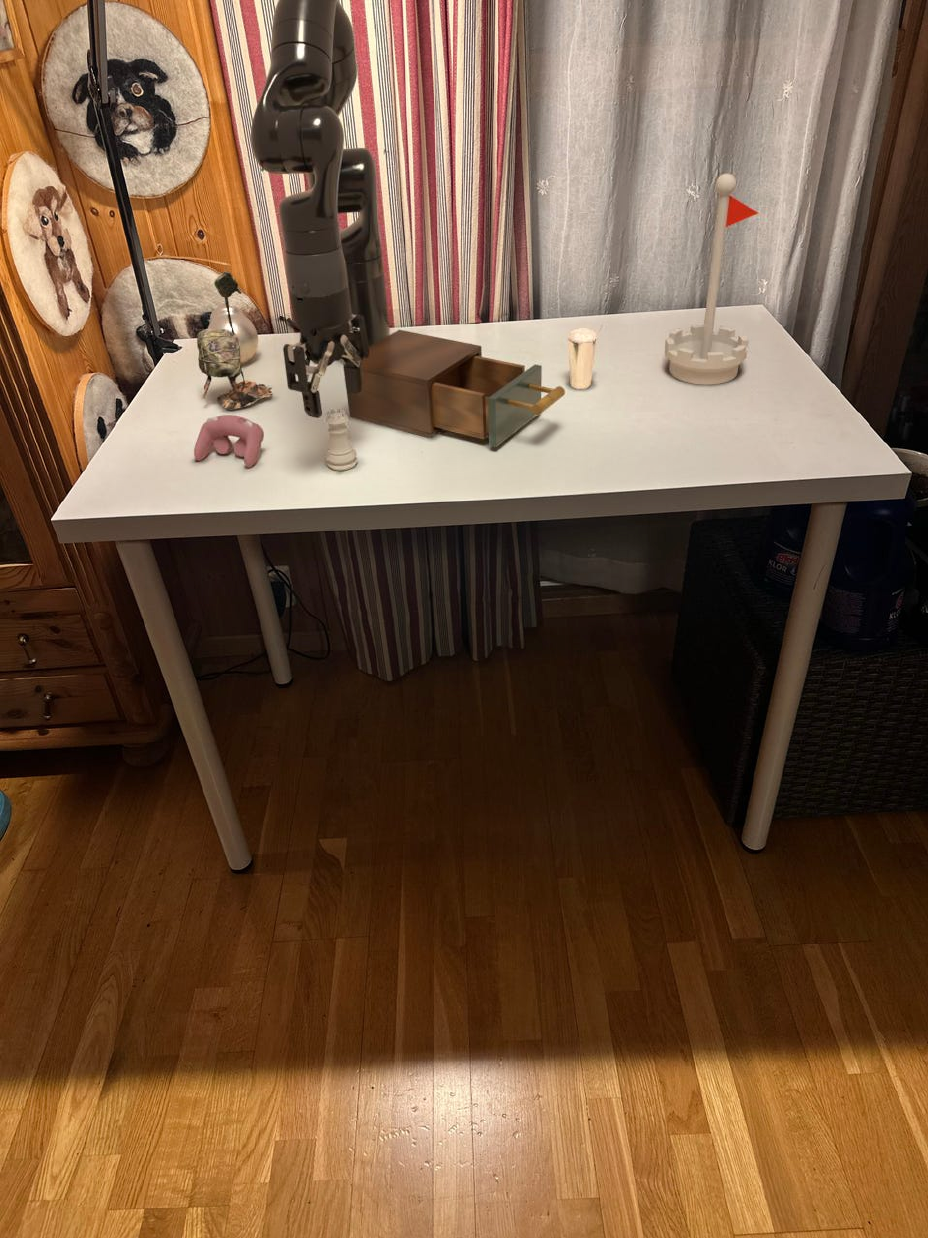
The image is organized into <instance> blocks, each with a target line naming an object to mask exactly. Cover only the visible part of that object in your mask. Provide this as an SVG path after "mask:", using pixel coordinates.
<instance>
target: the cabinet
mask: <svg viewBox="0 0 928 1238" xmlns="http://www.w3.org/2000/svg"><path fill="white" fill-rule="evenodd" d="M482 350H483V349H482V345H479V344H472V343H469V342H463V341H458V340H453V339H448V338H443V337H439V336H433V335H427V334H423V333H418V332H413V331H408V330H402V329H397V330H396V331H394V332H393V333H390V335H389V336H387V337H385V338H384V339H382V340H380V341H378V342H377V343H375V344H373V345H371V346H369V356H368V358H363V360H362V365H361V366H360V373H361V381H362V385H361V392H360V393H358V394H353V393H349V392H348V391H347V390H346V389H345V390H346V397H347V398H346V399H347V406H348V413H349V417H350V418H351V419H357V420H360V421H363V422H368V423H371V424H376V425H378V426H382V427H385V428H386V427H387V428H390V429H395V430H398V431H402V432H406V433H410V434H413V435H418V436H421V437H425V438H429V439H433V438H434V437H436V436H437V435H438V434H439V433H441V432H443V431H444V429H440V428H436V427H434V420H433V406H432V392H431V383H433V382H434V381H436V380H437V379H439V378H441V377H442V376H444V375H445V374H447V373H448V372H450V371H451V370H453V369H454V368H456V367H457V366H459V365H460V364H462V363H464V362H465V361H467V360H468V359H470V358H471V357H473V356H474V355H475V356H480V357H483V356H482V355H483V354H482ZM345 365H346V364H344V363H343V362H342V366H345Z"/></svg>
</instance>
